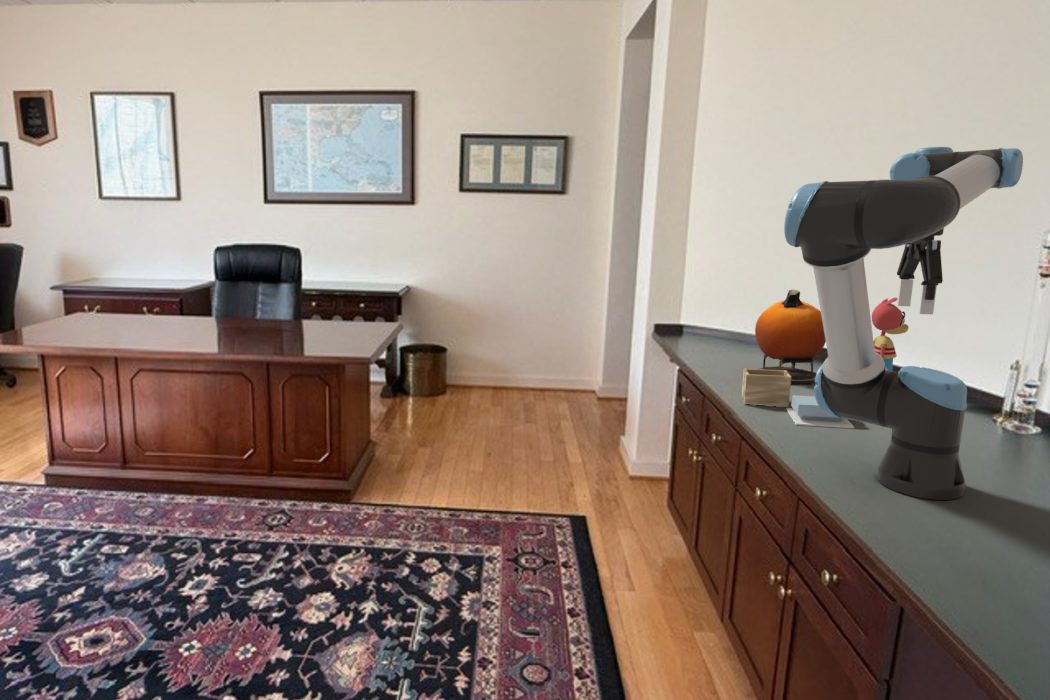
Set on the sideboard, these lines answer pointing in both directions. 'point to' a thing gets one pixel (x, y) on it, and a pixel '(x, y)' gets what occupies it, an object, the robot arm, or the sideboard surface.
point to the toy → (887, 329)
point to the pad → (818, 421)
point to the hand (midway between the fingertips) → (914, 310)
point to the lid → (810, 409)
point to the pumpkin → (791, 336)
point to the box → (766, 387)
